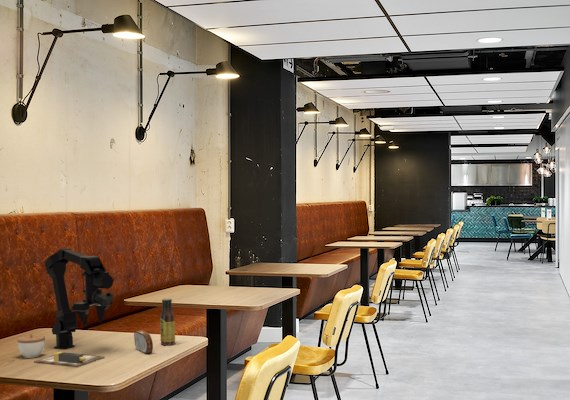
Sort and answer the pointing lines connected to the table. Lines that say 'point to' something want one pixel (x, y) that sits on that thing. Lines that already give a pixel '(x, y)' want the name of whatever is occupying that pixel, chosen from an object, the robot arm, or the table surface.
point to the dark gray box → (68, 357)
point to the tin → (143, 341)
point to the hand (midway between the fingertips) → (93, 324)
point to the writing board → (51, 361)
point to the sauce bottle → (167, 323)
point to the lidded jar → (31, 345)
